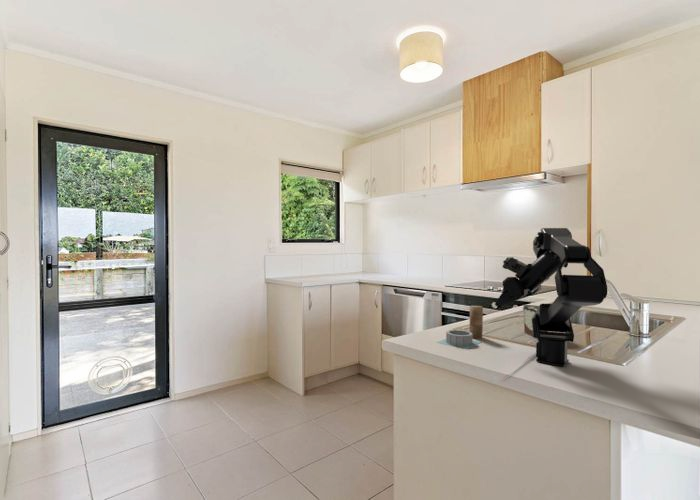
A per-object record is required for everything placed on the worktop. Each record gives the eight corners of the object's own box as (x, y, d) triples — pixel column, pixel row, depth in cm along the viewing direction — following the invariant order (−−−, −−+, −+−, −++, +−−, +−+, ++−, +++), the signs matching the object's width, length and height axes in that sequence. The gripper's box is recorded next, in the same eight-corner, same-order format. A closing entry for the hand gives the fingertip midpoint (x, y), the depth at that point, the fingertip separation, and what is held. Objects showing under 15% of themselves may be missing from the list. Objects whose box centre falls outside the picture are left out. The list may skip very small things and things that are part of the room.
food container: (559, 341, 116) (559, 311, 116) (539, 341, 117) (540, 310, 116) (539, 332, 129) (540, 304, 129) (522, 332, 129) (522, 304, 129)
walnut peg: (484, 340, 117) (484, 306, 117) (479, 342, 114) (479, 308, 114) (472, 338, 120) (472, 305, 120) (467, 340, 117) (467, 306, 117)
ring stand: (481, 345, 111) (481, 332, 111) (467, 352, 103) (467, 338, 103) (451, 339, 118) (451, 327, 118) (436, 345, 110) (436, 332, 110)
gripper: (530, 248, 111) (493, 281, 118) (510, 247, 97) (470, 285, 104) (558, 275, 106) (518, 308, 113) (542, 278, 92) (497, 316, 99)
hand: (501, 303), depth 108 cm, fingers open, 9 cm apart
